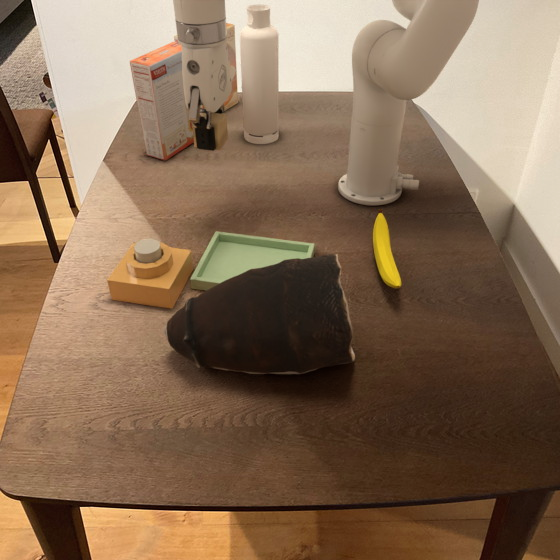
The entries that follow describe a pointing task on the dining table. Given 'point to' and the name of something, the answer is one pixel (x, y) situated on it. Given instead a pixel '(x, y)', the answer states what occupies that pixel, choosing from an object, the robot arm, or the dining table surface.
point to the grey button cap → (148, 251)
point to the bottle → (260, 76)
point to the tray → (243, 256)
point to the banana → (384, 252)
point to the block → (216, 129)
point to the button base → (151, 278)
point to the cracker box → (162, 101)
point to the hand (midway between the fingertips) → (211, 141)
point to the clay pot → (268, 320)
